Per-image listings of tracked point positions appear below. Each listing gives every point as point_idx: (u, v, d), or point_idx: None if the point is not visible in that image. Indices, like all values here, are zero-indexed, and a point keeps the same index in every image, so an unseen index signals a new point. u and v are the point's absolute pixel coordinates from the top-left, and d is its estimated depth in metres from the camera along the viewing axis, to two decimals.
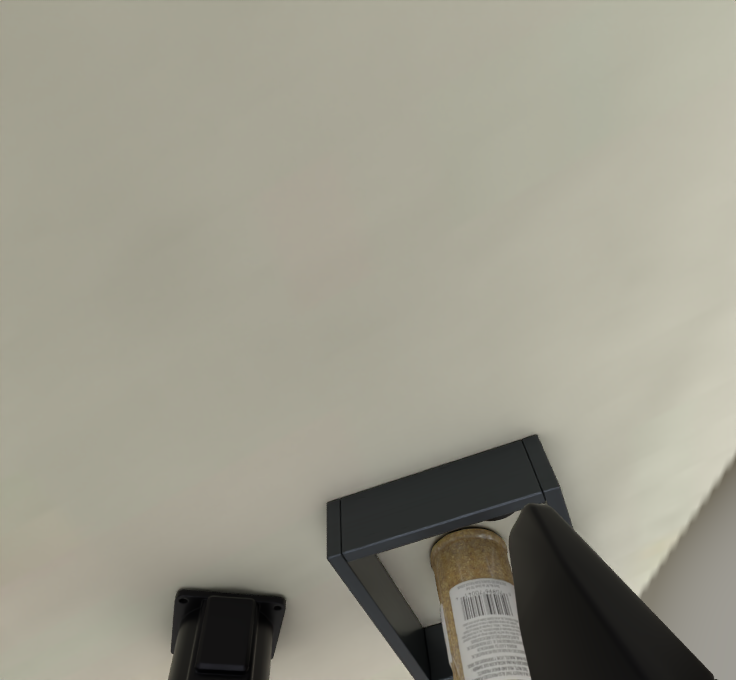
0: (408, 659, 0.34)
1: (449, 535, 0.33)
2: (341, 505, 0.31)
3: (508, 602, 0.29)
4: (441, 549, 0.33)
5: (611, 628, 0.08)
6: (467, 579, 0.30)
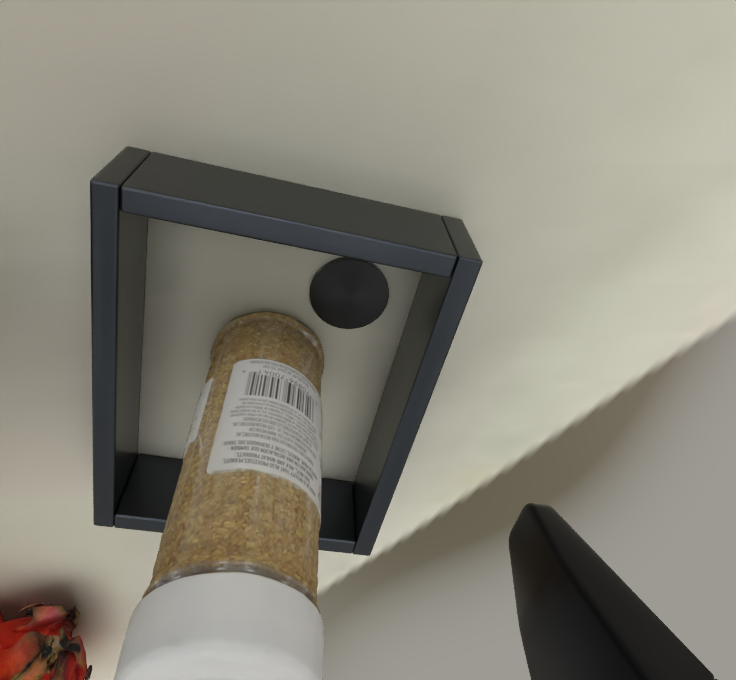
0: (105, 457, 0.22)
1: (264, 313, 0.22)
2: (150, 156, 0.19)
3: (312, 407, 0.19)
4: (244, 324, 0.22)
5: (611, 628, 0.08)
6: (269, 359, 0.20)
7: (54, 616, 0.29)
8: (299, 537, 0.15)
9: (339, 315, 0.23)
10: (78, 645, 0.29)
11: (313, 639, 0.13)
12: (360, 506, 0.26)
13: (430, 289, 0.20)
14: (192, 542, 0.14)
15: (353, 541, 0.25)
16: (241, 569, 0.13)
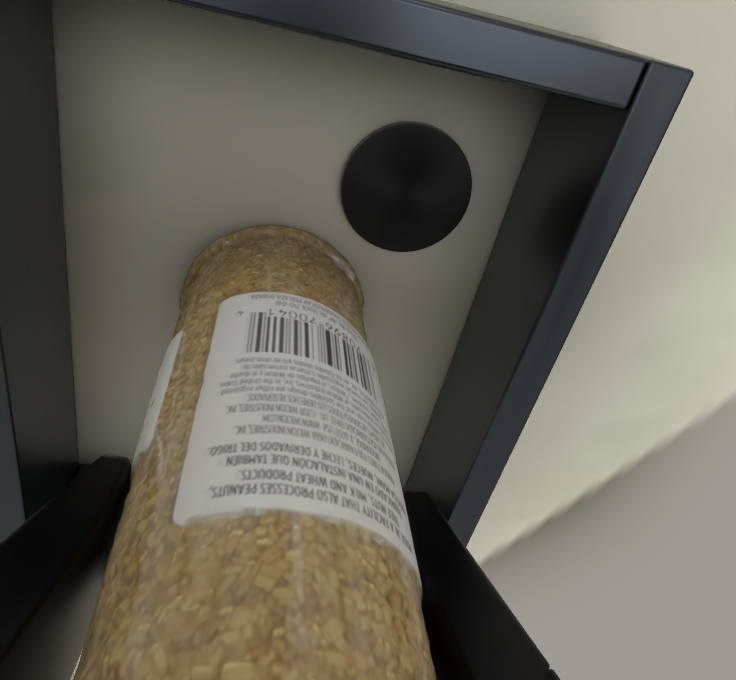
0: (1, 473, 0.13)
1: (266, 226, 0.13)
2: None
3: (369, 374, 0.11)
4: (233, 244, 0.13)
5: (450, 616, 0.07)
6: (284, 292, 0.11)
7: None
8: (410, 672, 0.06)
9: (390, 228, 0.14)
10: None
11: None
12: None
13: (559, 161, 0.12)
14: None
15: None
16: None
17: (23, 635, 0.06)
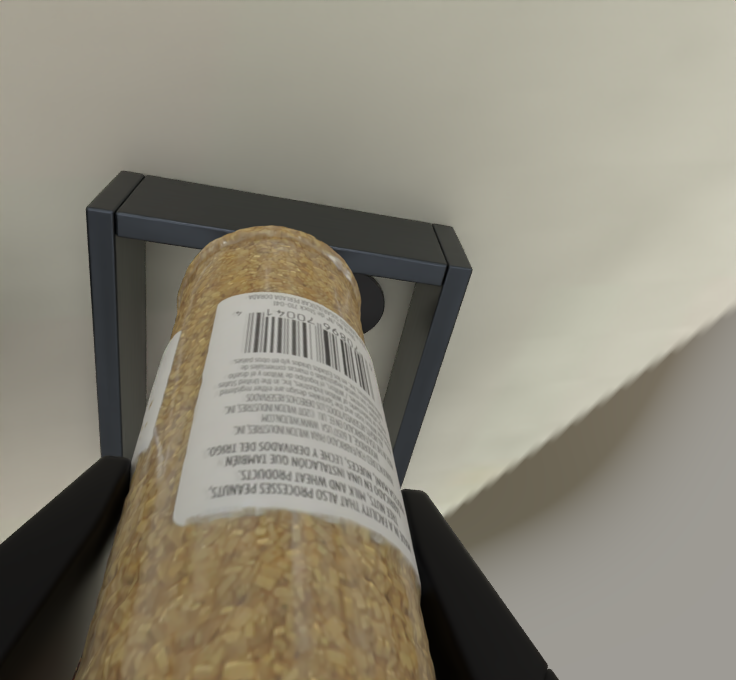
0: None
1: (263, 227, 0.13)
2: (144, 179, 0.19)
3: (367, 374, 0.11)
4: (230, 245, 0.13)
5: (449, 616, 0.07)
6: (282, 292, 0.11)
7: None
8: (409, 670, 0.06)
9: None
10: None
11: None
12: None
13: (424, 297, 0.21)
14: None
15: None
16: None
17: (25, 635, 0.06)
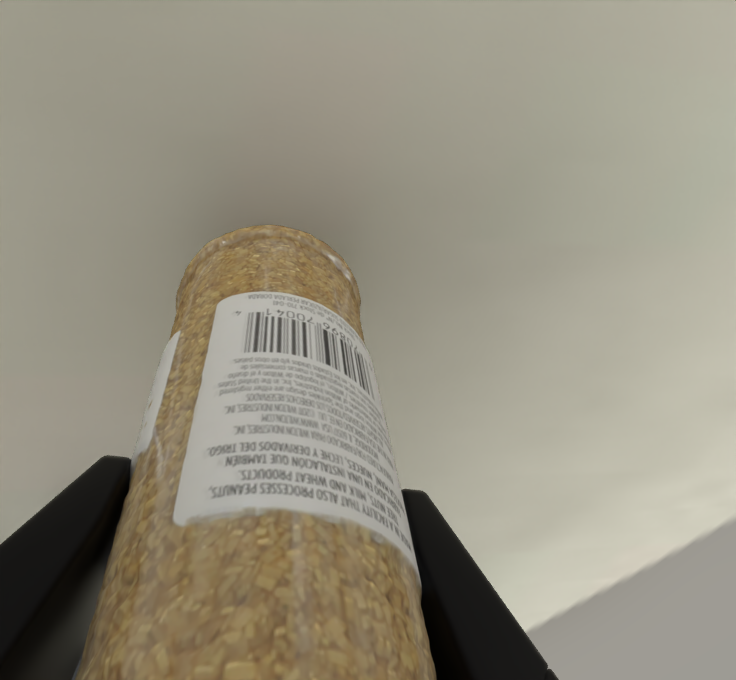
0: None
1: (262, 226, 0.13)
2: None
3: (367, 374, 0.11)
4: (229, 244, 0.13)
5: (449, 616, 0.07)
6: (282, 291, 0.11)
7: None
8: (410, 670, 0.06)
9: None
10: None
11: None
12: None
13: None
14: None
15: None
16: None
17: (25, 635, 0.06)
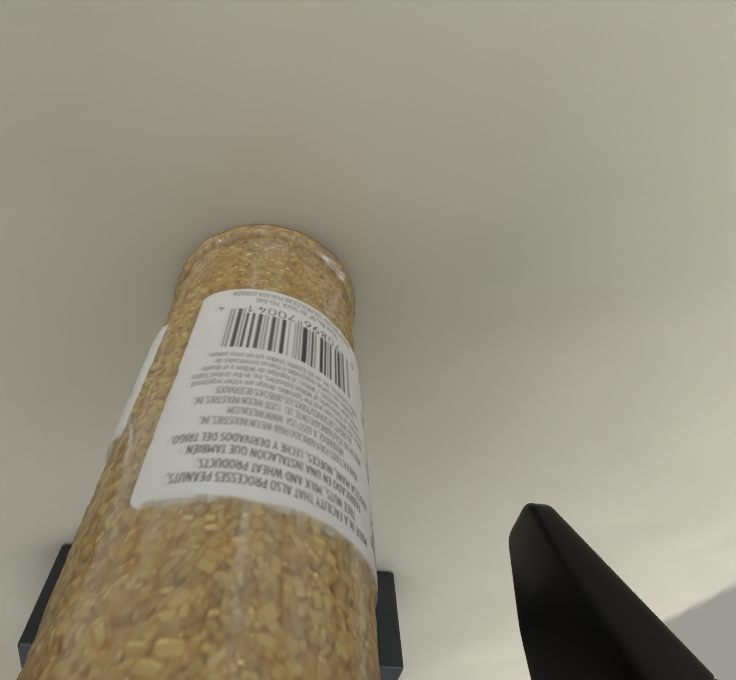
0: None
1: (258, 226, 0.14)
2: None
3: (346, 372, 0.11)
4: (225, 242, 0.13)
5: (611, 628, 0.08)
6: (268, 289, 0.11)
7: None
8: (344, 658, 0.06)
9: None
10: None
11: None
12: None
13: None
14: None
15: None
16: None
17: None
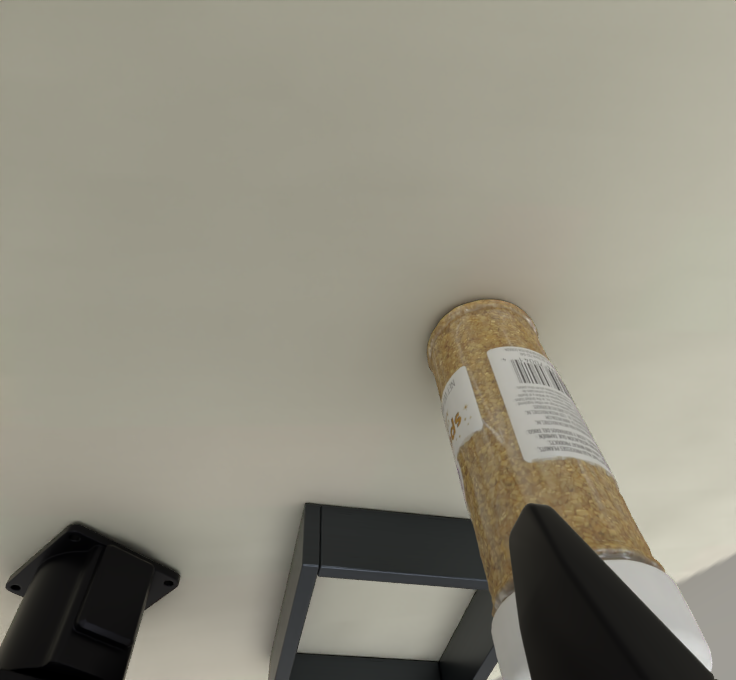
0: None
1: (488, 300, 0.22)
2: (322, 513, 0.28)
3: (569, 394, 0.19)
4: (471, 311, 0.22)
5: (611, 628, 0.08)
6: (520, 346, 0.20)
7: None
8: (634, 523, 0.15)
9: None
10: None
11: (697, 624, 0.13)
12: None
13: None
14: None
15: None
16: (619, 556, 0.13)
17: None
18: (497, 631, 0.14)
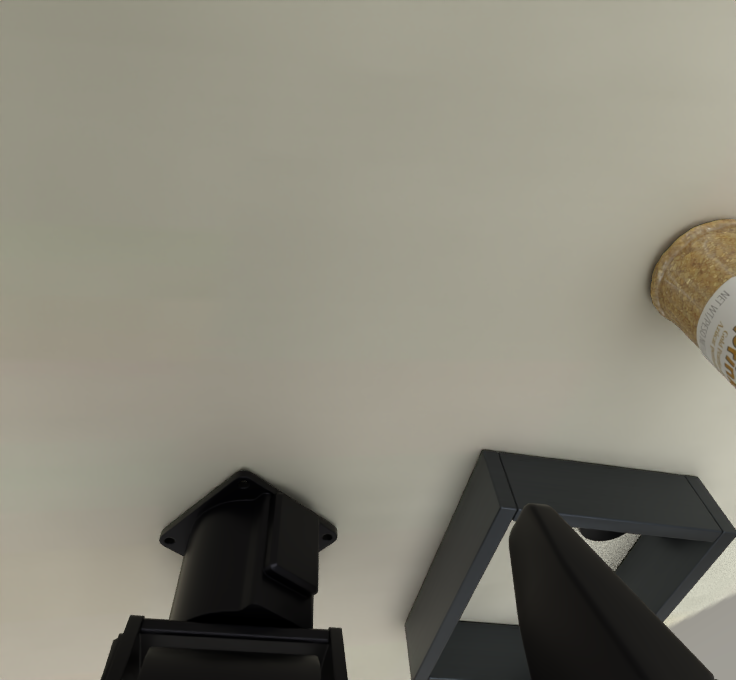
0: (439, 645, 0.30)
1: (728, 220, 0.21)
2: (502, 459, 0.27)
3: None
4: (715, 230, 0.21)
5: (611, 628, 0.08)
6: None
7: None
8: None
9: (597, 534, 0.31)
10: None
11: None
12: None
13: None
14: None
15: None
16: None
17: None
18: None
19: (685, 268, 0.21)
